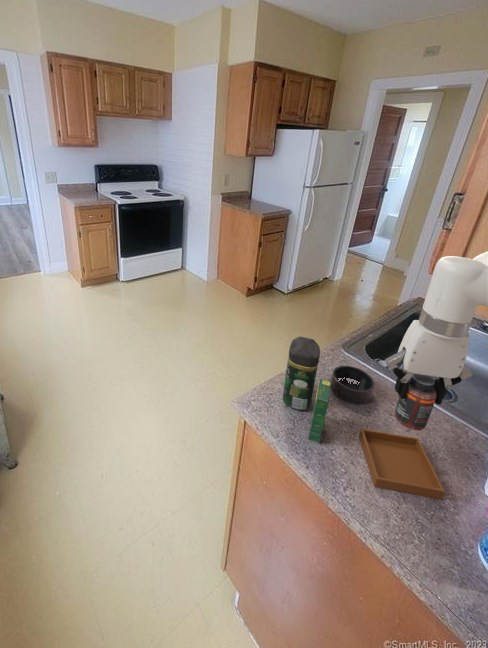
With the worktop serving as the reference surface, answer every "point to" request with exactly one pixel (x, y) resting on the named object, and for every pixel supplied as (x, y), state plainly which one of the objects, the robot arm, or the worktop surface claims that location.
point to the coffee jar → (301, 373)
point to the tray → (399, 464)
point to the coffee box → (319, 410)
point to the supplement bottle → (416, 402)
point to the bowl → (352, 385)
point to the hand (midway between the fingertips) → (417, 396)
